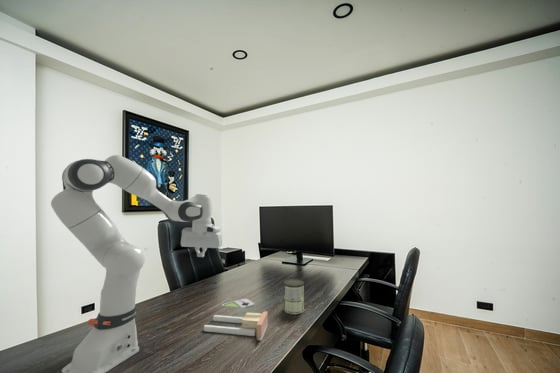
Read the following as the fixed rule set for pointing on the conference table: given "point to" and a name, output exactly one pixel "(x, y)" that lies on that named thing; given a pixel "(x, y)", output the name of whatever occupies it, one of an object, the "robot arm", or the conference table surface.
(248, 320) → the block
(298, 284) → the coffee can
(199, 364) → the conference table surface
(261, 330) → the rail
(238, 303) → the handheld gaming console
